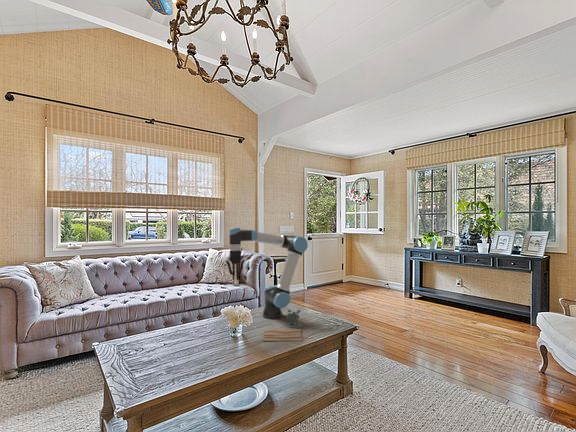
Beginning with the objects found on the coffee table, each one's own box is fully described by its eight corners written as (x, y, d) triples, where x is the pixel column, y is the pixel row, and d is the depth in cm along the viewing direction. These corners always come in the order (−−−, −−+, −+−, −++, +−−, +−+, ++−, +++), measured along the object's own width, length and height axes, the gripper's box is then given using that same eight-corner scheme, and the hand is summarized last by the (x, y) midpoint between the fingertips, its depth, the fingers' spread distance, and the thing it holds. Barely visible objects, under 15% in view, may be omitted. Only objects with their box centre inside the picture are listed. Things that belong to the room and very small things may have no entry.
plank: (264, 331, 207) (264, 329, 207) (300, 330, 207) (300, 328, 207) (263, 336, 198) (263, 335, 198) (301, 336, 199) (301, 334, 199)
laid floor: (263, 337, 198) (263, 335, 198) (301, 336, 198) (301, 334, 198) (262, 342, 189) (262, 340, 189) (302, 342, 190) (302, 339, 190)
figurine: (302, 329, 211) (301, 311, 211) (286, 329, 211) (286, 311, 211) (301, 323, 222) (301, 306, 222) (286, 323, 222) (286, 307, 222)
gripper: (224, 250, 210) (225, 285, 210) (244, 250, 210) (244, 285, 210) (226, 249, 217) (227, 283, 217) (245, 249, 218) (245, 283, 218)
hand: (235, 284), depth 214 cm, fingers closed
